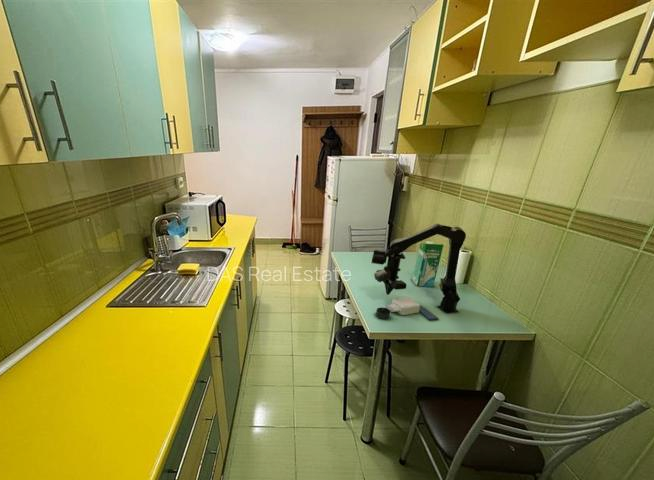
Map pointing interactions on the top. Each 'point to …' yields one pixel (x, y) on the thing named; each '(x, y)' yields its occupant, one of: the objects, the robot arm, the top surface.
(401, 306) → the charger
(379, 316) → the black knob
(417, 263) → the milk carton
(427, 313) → the dark blue flat bar
